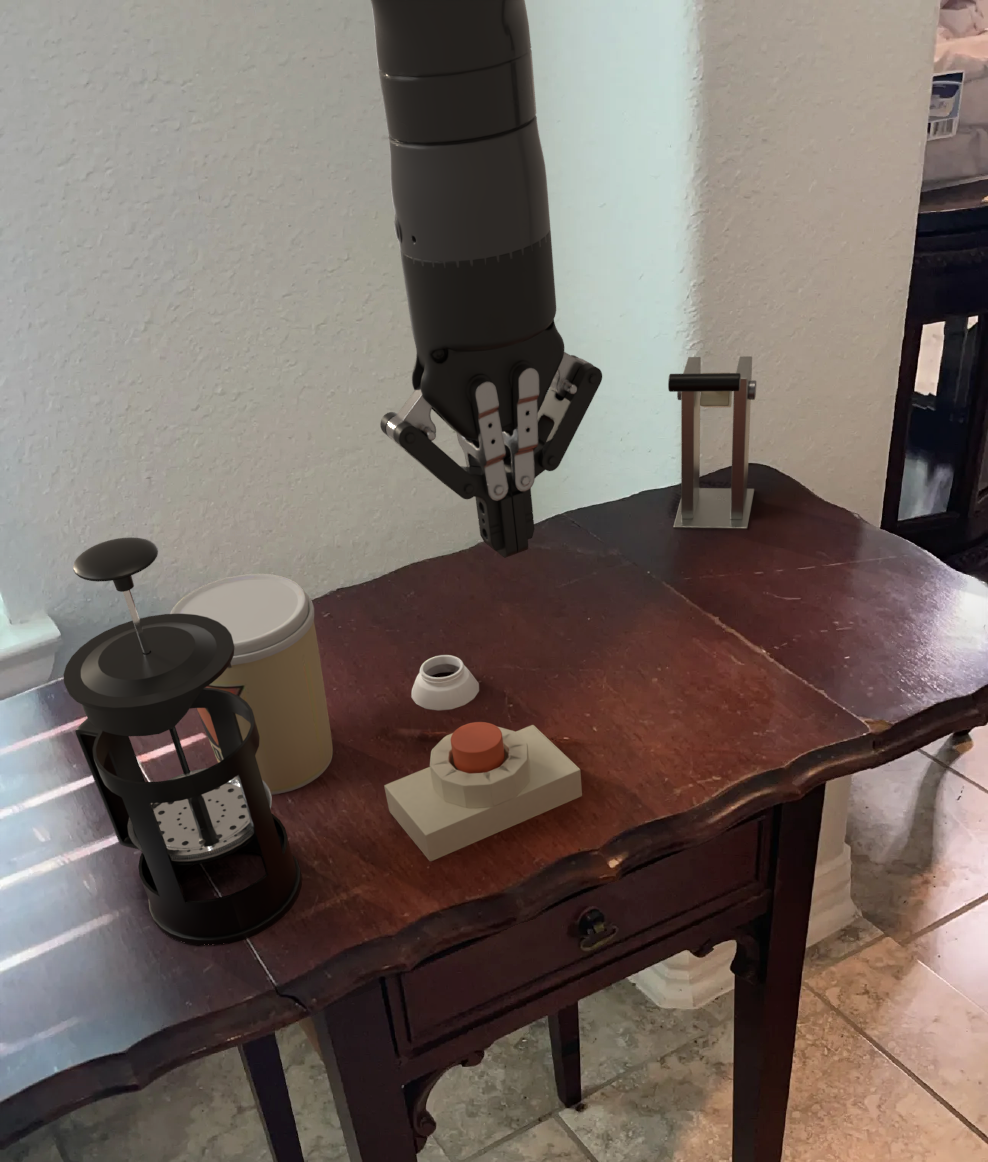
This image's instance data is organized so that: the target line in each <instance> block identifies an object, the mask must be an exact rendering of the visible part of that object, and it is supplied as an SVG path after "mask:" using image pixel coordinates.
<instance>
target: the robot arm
mask: <svg viewBox="0 0 988 1162" xmlns="http://www.w3.org/2000/svg"><path fill="white" fill-rule="evenodd" d="M370 2H371V3H370V4H371V9H372V18H373V27H374V28H373V29H374V41H375V53H376V61H377V62H376V63H377V69H378V76H379V81H380V89H381V96H382V103H383V110H384V117H385V122H386V131H387V135H388V147H389V148H388V149H389V174H390V175H389V176H390V177H389V178H390V179H389V180H390V191H391V201H392V207H393V208H392V209H393V214H394V215H393V228H394V233H395V237H396V239H397V241H398V248H399V254H400V260H401V267H402V274H403V280H404V281H403V282H404V288H405V293H406V300H407V307H408V313H409V320H410V327H411V333H412V337H413V342H414V345H415V351H416V355H415V356H416V357H415V363H414V366H413V370H412V373H411V385H412V388H413V392H412V393H411V394H410V396H409V397H408V398H407V400H406V401H405V403H404V404H403V405H402V406H401V408H400V410H399V411H398V412H395V411H389V412H387V413H385V414H384V415H383V416H382V418H381V420H380V423H379V425H380V430H381V431H382V433H383V434H385V435H386V437H388V438H389V439H390V440H392V442H394V443H395V444H396V445H397V446H399V447H400V448H401V449H402V450H403V451H404V452H406V453H407V454H408V455H409V456H410V457H412V458H413V459H414V460H415V461H416V462H417V463H418V464H420V465H421V466H422V467H423V468H425V470H427V471H428V472H429V473H431V474H432V475H433V476H434V477H435V478H437V480H439V481H440V482H441V483H442V484H444V485H445V486H446V487H448V489H450V490H451V491H453V492H454V493H455V494H456V495H458V496H459V497H460V498H462V499H463V500H471V499H473V498H475V504H476V505H475V506H476V513H477V519H478V526H479V527H478V528H479V529H478V530H479V535H480V538H481V539H482V541H483V543H485V544H486V545H487V546H488V547H490V548H491V549H492V550H494V551H495V552H497V553H498V554H499V555H500V556H501V557H503V558H504V559H506V558H510V557H511V556H515V555H517V554H519V553H522V552H525V551H527V550H529V540H530V539H533V536H534V532H535V520H534V510H533V498H532V488H533V486H534V483H535V479H536V478H537V477H538V476H539V475H541V474H542V473H544V472H545V471H547V472H554V471H555V470H557V469H558V468H559V466H560V465H561V462H562V461H563V458H564V457H565V455H566V453H567V451H568V449H569V447H570V445H571V443H572V442H573V439H574V437H575V435H576V433H577V431H578V429H579V427H580V425H581V423H582V421H583V419H584V418H585V415H586V414H587V411H588V410H589V407H590V406H591V403H592V401H593V399H594V397H595V395H596V393H597V391H598V390H599V387H600V385H601V383H602V380H603V373H602V370H601V369H600V368H599V367H597V366H595V365H594V364H593V363H592V362H589V361H587V360H586V359H584V358H581V357H578V356H577V355H574V354H570V353H567V352H566V351H565V343H564V339H563V337H562V335H561V334H560V332H559V331H558V328H557V326H556V323H555V317H556V315H557V298H556V297H557V296H556V284H555V270H554V258H553V257H554V256H553V245H552V243H553V242H552V231H551V217H550V204H549V192H548V180H547V179H548V178H547V170H546V163H545V156H544V151H543V147H542V141H541V137H540V132H539V131H540V130H539V125H538V116H537V115H536V114H537V104H536V103H537V102H536V90H535V76H534V65H533V52H532V51H533V50H532V43H531V42H532V41H531V32H530V25H529V24H530V23H529V17H528V13H527V12H528V10H527V6H526V0H370ZM432 411H433V412H434V413H435V414H436V415H437V416H438V417H439V418H440V419H441V420H443V422H444V423H445V424H447V426H448V427H449V428H450V429H452V430H453V432H456V437H457V441H458V444H459V447H460V448H461V450H462V451H463V455H464V459H465V464H466V466H463V465H459V464H458V463H457V462H456V461H455V460H454V459H453V458H451V456H449V455H448V454H447V453H446V452H444V451H443V450H442V449H441V448H440V447H439V446H438V445H437V444H436V443H435V442H433V441H434V440H435V439H436V438H437V426H436V424H435V423H434V422H433V420H432V418H431V412H432Z"/></svg>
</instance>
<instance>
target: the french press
mask: <svg viewBox="0 0 988 1162" xmlns="http://www.w3.org/2000/svg"><path fill="white" fill-rule="evenodd" d="M158 555H159V549H158V547H157V545H156V544H155V543H154V542H153V541H151V540H149V539H147V538H142V537H135V536H134V537H133V536H129V537H128V536H127V537H119V538H113V539H107V540H105V541H102V542H100V543H97V544H94V545H93V546H91V547H88V549H86V550H84V551H82V553H80V554H79V555H78V556H77V558H76V559H75V560H74V562H73V566H72V567H73V568H72V569H73V572H74V574H75V575H76V576H77V577H79V579H83V580H85V581H88V582H89V581H90V582H110V581H112V582H113V585H114V587H115V590H116V591H117V592H119V593H122V594H123V597H124V600H125V603H126V606H127V608H128V612H129V615H130V618H131V620H129V621H128V622H124V623H120V624H118V625H116V626H113V627H111V628H108V629H107V630H104V631H102V632H101V633H99V634H98V635H95V636H94V637H93V638H91V639H89V640H88V641H86V642H85V643H84V644H83V645H82V646H80V647H79V648H78V649H77V650H76V651H75V652H74V653H73V655H71V657H70V659H69V660H68V662H67V663H66V665H65V668H64V671H63V684H64V687H65V689H66V691H67V693H68V695H69V696H70V697H71V698H72V699H73V700H74V701H75V702H76V703H78V704H80V705H81V706H82V708H83V711H84V714H85V716H86V717H87V718H85V720H84V721H82V722H81V723H80V724H79V726H77V727H76V729H75V736H76V738H77V740H78V743H79V746H80V748H81V751H82V753H83V756H84V758H85V761H86V763H87V766H88V768H89V771H90V774H91V776H92V778H93V780H94V783H95V786H96V788H97V791H98V793H99V796H100V799H101V801H102V803H103V807H104V809H105V811H106V813H107V816H108V819H109V822H110V823H111V826H112V829H113V831H114V834H115V836H116V839H117V841H118V843H119V844H120V846H123V847H126V848H129V849H130V848H131V849H135V850H139V851H140V853H141V854H140V856H139V860H138V875H139V879H140V881H141V884H142V886H143V888H144V891H145V893H146V896H147V899H148V909H149V914H150V916H151V919H152V920H153V923H154V925H155V924H156V925H157V926H156V925H155V926H156V927H157V928H158V929H159V931H161V933H163V934H164V933H165V934H164V935H166V936H167V935H168V936H167V937H169V938H171V939H172V938H173V939H172V940H174V939H176V940H175V941H177V940H178V941H177V942H180V941H182V942H181V943H183V942H185V943H184V944H186V943H191V944H190V945H192V944H197V945H196V946H199V945H202V946H205V945H208V944H209V945H212V944H221V945H224V944H223V943H228V944H232V943H236V942H239V941H243V940H247V939H248V938H252V937H253V936H256V935H258V934H261V932H263V931H265V930H267V929H268V928H270V927H272V926H273V925H274V924H276V923H277V922H278V921H280V920H281V919H282V918H283V917H284V916H285V915H286V914H287V913H288V912H289V910H291V908H292V907H293V906H294V904H295V902H296V901H297V899H298V897H299V895H300V891H301V888H302V879H303V878H302V877H303V874H302V871H301V867H300V862H299V861H298V859H297V857H296V856H295V855H294V853H293V851H292V848H291V844H290V841H289V838H288V834H287V830H286V827H285V826H284V824H283V822H282V821H281V820H280V819H279V818H278V817H277V816H276V815H275V814H273V812H272V810H271V808H272V799H273V796H272V795H271V793H270V789H269V788H268V786H267V785H266V783H265V782H264V781H263V780H262V778H261V774H260V771H259V767H258V764H257V760H256V757H255V755H256V752H257V750H258V747H259V739H260V736H259V733H258V729H257V725H256V722H255V718H254V714H253V711H252V709H251V707H250V706H249V704H248V703H247V702H246V701H245V700H243V699H242V698H241V697H239V696H238V695H235V694H233V693H231V692H228V691H224V690H220V689H215V688H205V687H207V686H208V685H210V684H211V683H213V682H214V681H215V680H216V679H217V678H218V677H219V676H221V675H222V674H223V672H224V671H225V670H226V669H227V667H228V668H232V666H231V660H232V658H233V656H234V648H235V646H234V643H233V639H232V635H231V633H230V632H229V631H228V629H227V628H226V627H225V626H223V625H222V624H221V623H219V622H218V621H215V620H213V619H210V618H208V617H204V616H199V615H194V614H170V613H163V614H156V615H149V616H145V617H140V616H139V613H138V610H137V607H136V604H135V601H134V597H133V595H132V592H131V590H132V589H134V587H135V583H134V580H133V576H134V575H136V574H138V573H140V572H142V571H144V570H145V569H147V568H148V567H150V566H151V565H152V564H153V563H154V562H155V561H156V560H157V558H158ZM196 708H208V710H209V713H210V716H211V720H212V723H213V726H214V729H215V733H216V736H217V739H218V742H219V746H220V749H221V752H222V756H223V760H222V761H220V762H219V763H218V762H217V763H215V764H213V765H211V766H210V767H205V768H198V769H194V770H190V768H189V765H188V761H187V758H186V755H185V753H184V749H183V745H182V743H181V740H180V737H179V733H178V731H177V728H176V726H177V725H178V724H179V723H180V721H181V720H182V719H183V718H184V717H185V716H186V715H187V713H188V712H189V710H191V709H196ZM235 713H236V714H238V715H240V716H242V717H243V718H244V719H246V720H247V721H248V722H249V723H250V724H251V726H250V729H249V732H248V734H247V737H246V738H245V739H244V741H243V738H242V735H241V732H240V728H239V725H238V721H237V718H236V714H235ZM167 731H169V734H170V736H171V737H170V738H171V740H172V743H173V746H174V748H175V751H176V755H177V758H178V760H179V763H180V767H181V769H182V772H183V773H180V774H178V775H175V776H172V777H171V778H169V779H166V780H160V781H146V780H145V776H144V774H143V771H142V769H141V766H140V764H139V761H138V758H137V755H136V753H135V750H134V747H133V744H132V741H131V739H130V737H148V736H153V735H155V736H156V735H160V734H162V733H165V732H167ZM235 852H247V853H248V852H249V853H254V854H258V855H260V857H261V861H262V864H263V869H264V871H265V874H264V875H262V877H260V878H259V879H258V880H256V881H255V882H253V883H252V884H250V885H248V886H246V887H244V888H243V889H240V890H238V891H235V892H233V893H231V894H227V895H223V896H220V897H216V898H210V899H203V900H186V895H185V893H184V891H183V888H182V885H181V881H180V879H179V878H180V877H181V876H182V875H183V874H184V873H185V872H186V871H187V870H189V869H190V868H192V867H193V866H194V865H199V864H205V863H209V862H212V861H216V860H219V859H222V858H225V857H227V856H229V855H232V854H233V853H235ZM204 944H205V945H204Z"/></svg>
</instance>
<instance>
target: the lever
mask: <svg viewBox="0 0 988 1162" xmlns="http://www.w3.org/2000/svg"><path fill="white" fill-rule="evenodd" d="M740 384H741V374H740V373H736V372H701V373H693V374H683V373H670V374H669V375H668V383H667V388H668V392H669V393H672V392H673V393H675V392H676V393H677V392H700V407H702V408H706V409H707V408H708V409H709V408H731V407H732V399H733V392H734V391H739V390H740Z"/></svg>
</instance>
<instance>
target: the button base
mask: <svg viewBox="0 0 988 1162" xmlns="http://www.w3.org/2000/svg"><path fill="white" fill-rule="evenodd" d="M497 727H498V728H499V729H500V730H501V732H502V737H503V746H504V754H505V759H504V762H503V763H502V765H501V766H500V767H498V768H496V769H493V770H491V771H489V772H486V773H471V774H469V773H466V772H462V771H460V770H458V769H457V768H456V766H455V764H454V760H453V753H452V747H451V736H452V734H453V733H454V732H452V733H450V734H446V735H445V736H444V737H443V738H442V739H441V740H440V741H439V742H438V743H436V745H435V746H434V747H433V748H432V749H431V751H430V759H429V766H428V767H426V768H423V769H420V770H418V771H416V772H413V773H411V774H409V775H406V776H403V777H401V778H399V779H396V780H394V781H391V782H388V783H386V784H384V785H383V786H384V787H383V788H384V792H385V797H386V802H387V807H388V812H389V813H390V815H392V817H393V818H394V820H396V822H397V823H398V825H399V826H401V828H402V829H403V830H404V832H405V833H406V834H407V835H408V837H409V838H410V839H411V840H412V842H413V843H414V844H415V846H417V847H418V849H419V850H420V851H421V853H422V854H423V855H424V856H425V857H426V859H427V860H428V861H429V862H433V861H435V860H437V859H440V858H442V857H444V856H447V855H449V854H451V853H454V852H456V851H459V850H461V849H463V848H466V847H468V846H470V845H472V844H475V843H477V842H479V841H481V840H484V839H486V838H488V837H491V836H493V835H495V834H497V833H500V832H502V831H505V830H507V829H509V828H511V827H514V826H516V825H518V824H521V823H523V822H526V821H528V820H531V819H533V818H534V817H536V816H537V817H538V816H540V815H542V814H544V813H546V812H548V811H551V810H552V809H555V808H558V807H560V806H563V805H565V804H567V803H569V802H571V801H572V802H573V801H574V800H576V799H579V798H581V797H583V787H582V775H581V774H582V773H581V769H580V768H579V767H578V766H577V764H575V763H574V762H573V761H572V760H571V759H570V757H568V756H567V755H566V754H564V752H563V751H562V750H560V748H559V747H558V746H556V745H555V744H554V743H553V742H552V741H551V740H550V739H549V738H548V737H547V736H546V735H545V734H543V732H541V731H540V729H538V728H537V727H536V726H535V725H534V724H531V725H528V726H526V727H524V728H522V729H521V728H520V729H519V730H516V731H515V730H512V729H508V728H505V727H501V726H497Z"/></svg>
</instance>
